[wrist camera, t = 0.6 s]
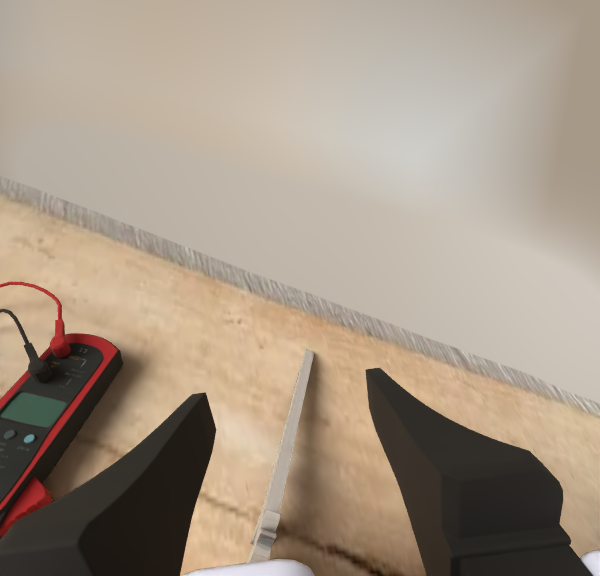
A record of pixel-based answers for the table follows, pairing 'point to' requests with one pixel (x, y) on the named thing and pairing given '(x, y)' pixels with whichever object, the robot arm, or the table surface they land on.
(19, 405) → the digital clamp meter
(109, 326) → the table surface
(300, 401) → the caliper
